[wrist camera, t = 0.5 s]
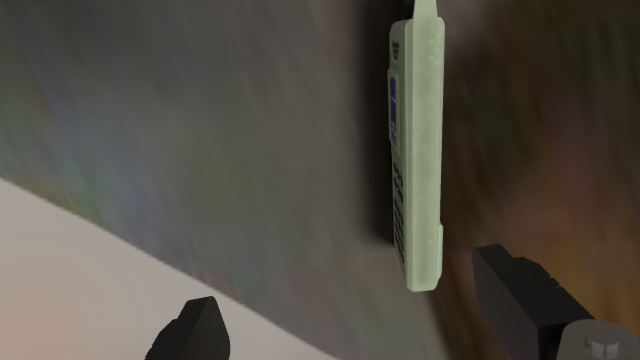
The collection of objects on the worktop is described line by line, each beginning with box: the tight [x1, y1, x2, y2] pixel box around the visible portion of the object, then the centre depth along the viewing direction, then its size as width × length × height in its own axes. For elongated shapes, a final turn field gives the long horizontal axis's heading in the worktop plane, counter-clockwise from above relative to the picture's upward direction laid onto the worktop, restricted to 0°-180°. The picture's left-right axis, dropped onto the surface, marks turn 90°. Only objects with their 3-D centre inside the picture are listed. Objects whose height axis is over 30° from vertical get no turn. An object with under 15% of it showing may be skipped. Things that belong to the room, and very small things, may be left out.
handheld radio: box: [387, 0, 445, 292], centre depth 28 cm, size 7×3×25 cm
